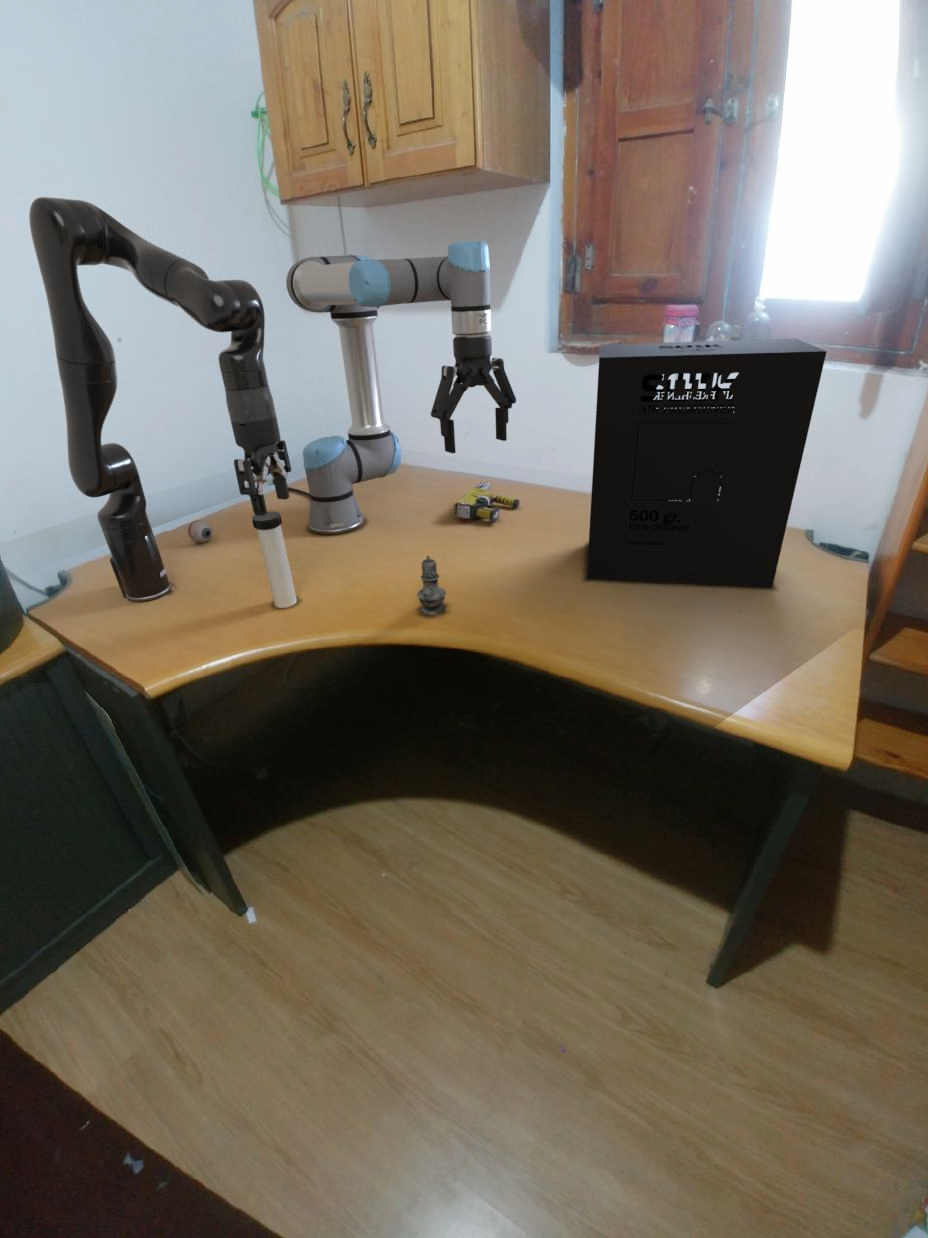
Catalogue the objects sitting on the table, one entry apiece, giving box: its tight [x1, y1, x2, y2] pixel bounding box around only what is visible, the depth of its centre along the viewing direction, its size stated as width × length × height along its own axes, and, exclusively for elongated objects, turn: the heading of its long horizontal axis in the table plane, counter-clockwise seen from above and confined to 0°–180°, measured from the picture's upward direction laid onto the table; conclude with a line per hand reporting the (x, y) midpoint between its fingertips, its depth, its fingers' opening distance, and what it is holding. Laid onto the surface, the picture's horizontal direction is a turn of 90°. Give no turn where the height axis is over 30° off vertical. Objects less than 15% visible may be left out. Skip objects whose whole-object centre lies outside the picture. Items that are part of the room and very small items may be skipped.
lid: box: [251, 510, 283, 530], centre depth 121 cm, size 6×6×2 cm
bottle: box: [256, 524, 298, 609], centre depth 125 cm, size 5×5×19 cm
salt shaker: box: [416, 555, 447, 616], centre depth 121 cm, size 6×6×12 cm
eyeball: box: [187, 519, 213, 544], centre depth 162 cm, size 6×6×6 cm
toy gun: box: [453, 481, 520, 524], centre depth 173 cm, size 5×24×15 cm
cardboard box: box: [586, 338, 828, 589], centre depth 126 cm, size 38×20×45 cm, turn 78°
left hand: (272, 506), depth 110 cm, fingers open, 8 cm apart
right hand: (476, 445), depth 127 cm, fingers open, 13 cm apart
